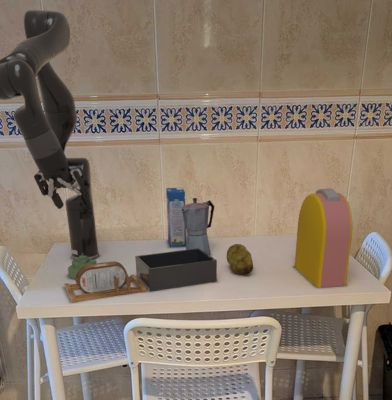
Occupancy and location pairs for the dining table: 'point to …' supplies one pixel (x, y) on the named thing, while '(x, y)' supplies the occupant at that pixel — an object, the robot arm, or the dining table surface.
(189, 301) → the dining table surface
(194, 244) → the moka pot
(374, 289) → the dining table surface
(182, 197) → the milk carton
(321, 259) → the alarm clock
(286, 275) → the dining table surface
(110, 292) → the dish rack
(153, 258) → the dark grey open box
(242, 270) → the olive green oval lump
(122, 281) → the tin
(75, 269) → the decorative artifact
